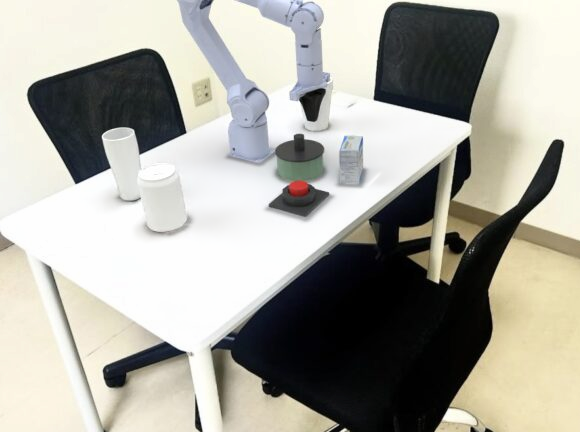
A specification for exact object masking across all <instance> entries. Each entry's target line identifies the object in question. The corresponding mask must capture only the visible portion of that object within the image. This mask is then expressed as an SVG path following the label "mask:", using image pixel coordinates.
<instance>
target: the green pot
mask: <svg viewBox="0 0 580 432" xmlns="http://www.w3.org/2000/svg"><path fill="white" fill-rule="evenodd" d="M276 167H277V174H278V175H279V177H281V178H283V179H284V180H287V181H291V182H294V181H305V182H307V181H311V180H313V179H316V178H318V177H319V176H321V175H322V174H323V172H324V154H323V155H322V156H320V157H319V158H317V159H315V160H312V161H307V162H288V161H284V160H281V159H279V158H278V157H277V156H276Z"/></svg>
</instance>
